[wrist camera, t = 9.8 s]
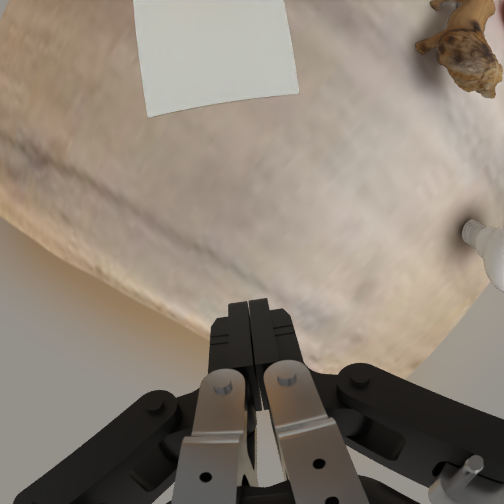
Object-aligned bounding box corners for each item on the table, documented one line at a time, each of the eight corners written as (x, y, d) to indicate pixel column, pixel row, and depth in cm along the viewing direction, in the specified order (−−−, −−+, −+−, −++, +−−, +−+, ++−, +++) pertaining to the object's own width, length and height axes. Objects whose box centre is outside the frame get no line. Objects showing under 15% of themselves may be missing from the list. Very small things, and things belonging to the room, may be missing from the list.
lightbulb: (482, 248, 29) (544, 294, 19) (444, 261, 29) (506, 315, 19) (486, 197, 26) (557, 233, 16) (446, 206, 27) (521, 249, 17)
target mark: (133, -8, 17) (132, -9, 17) (276, -31, 17) (277, -32, 17) (148, 117, 22) (147, 117, 22) (298, 94, 22) (299, 93, 22)
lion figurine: (446, 105, 23) (513, 110, 14) (403, 78, 22) (468, 71, 13) (466, -3, 17) (521, -19, 9) (427, -31, 16) (480, -57, 8)
